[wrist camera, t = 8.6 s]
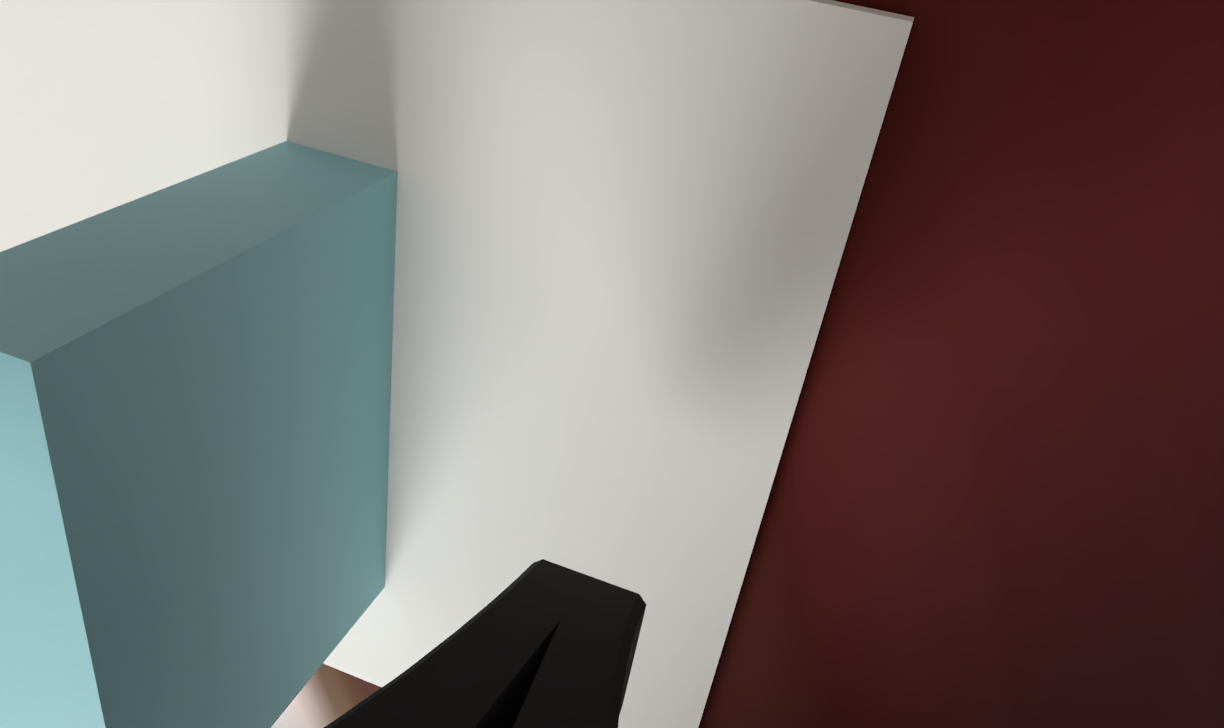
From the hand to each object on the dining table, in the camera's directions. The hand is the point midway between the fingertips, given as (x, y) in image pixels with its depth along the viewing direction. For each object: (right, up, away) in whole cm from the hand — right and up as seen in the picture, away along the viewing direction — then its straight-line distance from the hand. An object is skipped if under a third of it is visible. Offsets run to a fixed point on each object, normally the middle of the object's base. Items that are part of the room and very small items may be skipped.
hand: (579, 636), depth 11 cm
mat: (-6, +4, +5) cm, 8 cm away
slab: (-4, +3, +4) cm, 6 cm away
